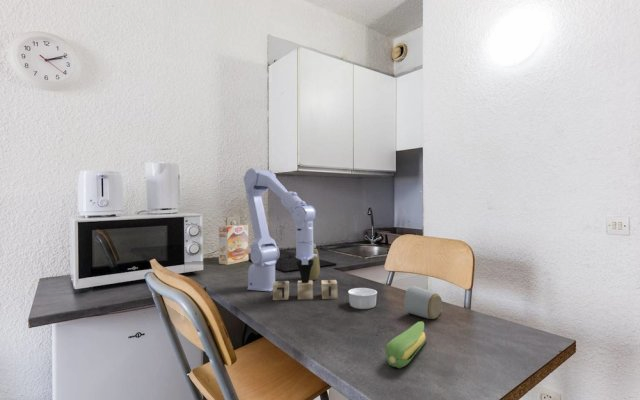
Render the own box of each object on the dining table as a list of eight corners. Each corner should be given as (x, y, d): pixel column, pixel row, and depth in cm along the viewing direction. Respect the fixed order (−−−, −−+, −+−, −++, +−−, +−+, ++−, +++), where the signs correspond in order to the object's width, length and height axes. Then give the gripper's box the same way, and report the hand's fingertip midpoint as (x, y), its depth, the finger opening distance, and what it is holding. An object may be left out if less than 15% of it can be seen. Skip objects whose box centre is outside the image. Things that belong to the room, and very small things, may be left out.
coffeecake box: (227, 265, 169) (227, 226, 169) (218, 263, 173) (217, 225, 173) (249, 260, 182) (248, 224, 182) (239, 259, 186) (239, 224, 186)
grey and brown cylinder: (430, 323, 87) (430, 293, 87) (403, 315, 93) (403, 287, 93) (449, 314, 94) (449, 287, 94) (423, 307, 100) (423, 282, 101)
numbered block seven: (272, 300, 109) (272, 284, 109) (274, 295, 114) (274, 280, 114) (288, 300, 109) (288, 284, 109) (289, 295, 114) (288, 280, 114)
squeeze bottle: (320, 281, 133) (319, 236, 133) (299, 281, 133) (299, 236, 133) (320, 276, 141) (319, 234, 141) (301, 277, 141) (300, 234, 141)
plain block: (297, 299, 110) (297, 284, 110) (298, 295, 115) (297, 280, 115) (312, 299, 110) (312, 284, 110) (312, 295, 115) (312, 280, 115)
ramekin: (342, 305, 103) (342, 291, 103) (359, 299, 109) (359, 286, 109) (366, 312, 97) (366, 297, 97) (382, 305, 103) (382, 290, 103)
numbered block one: (322, 299, 110) (322, 283, 110) (321, 294, 115) (321, 279, 115) (337, 298, 110) (337, 283, 110) (336, 294, 115) (335, 279, 115)
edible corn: (376, 346, 65) (398, 344, 62) (413, 318, 81) (431, 316, 79) (383, 374, 64) (405, 374, 61) (419, 340, 80) (438, 339, 78)
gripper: (317, 244, 105) (318, 287, 105) (315, 238, 120) (316, 277, 120) (294, 244, 105) (295, 288, 105) (296, 239, 119) (296, 277, 119)
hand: (305, 282), depth 112 cm, fingers closed
